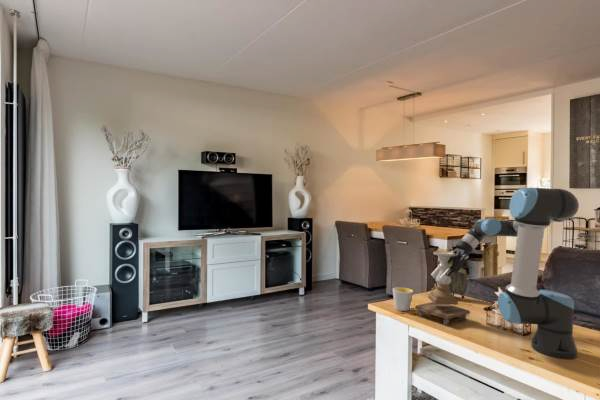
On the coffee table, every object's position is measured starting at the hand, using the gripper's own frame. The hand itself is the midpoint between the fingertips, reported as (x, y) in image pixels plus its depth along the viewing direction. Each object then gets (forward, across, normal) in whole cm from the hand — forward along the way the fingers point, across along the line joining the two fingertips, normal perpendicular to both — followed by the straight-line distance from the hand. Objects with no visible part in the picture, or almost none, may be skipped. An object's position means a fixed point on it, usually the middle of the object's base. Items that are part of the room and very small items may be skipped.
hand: (437, 278), depth 184 cm
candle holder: (+6, 0, -11) cm, 12 cm away
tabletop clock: (-9, +31, -38) cm, 50 cm away
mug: (+20, +16, -9) cm, 27 cm away
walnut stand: (+12, 0, -16) cm, 20 cm away
